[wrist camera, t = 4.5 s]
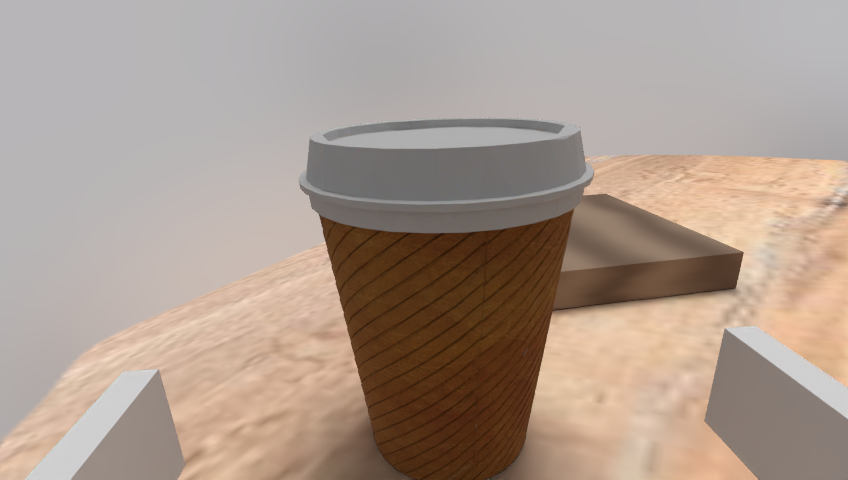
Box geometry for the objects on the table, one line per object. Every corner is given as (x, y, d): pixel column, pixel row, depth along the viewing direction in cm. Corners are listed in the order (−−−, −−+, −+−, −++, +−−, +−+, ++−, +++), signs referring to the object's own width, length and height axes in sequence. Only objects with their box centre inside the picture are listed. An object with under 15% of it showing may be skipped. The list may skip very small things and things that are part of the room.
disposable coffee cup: (434, 597, 12) (418, 167, 8) (294, 414, 20) (249, 133, 16) (617, 431, 18) (659, 123, 14) (456, 336, 25) (453, 113, 21)
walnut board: (603, 218, 44) (605, 193, 43) (735, 287, 29) (743, 252, 28) (444, 232, 42) (444, 206, 41) (501, 315, 27) (501, 277, 26)
